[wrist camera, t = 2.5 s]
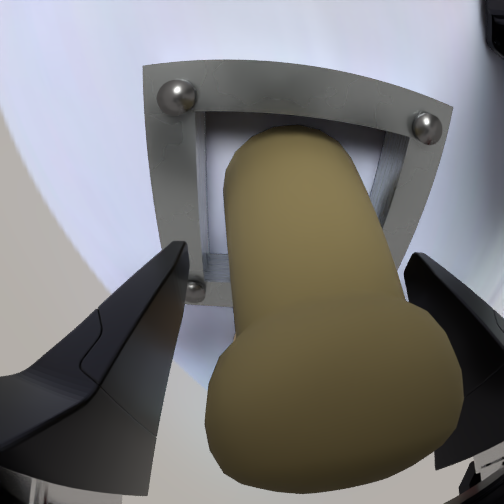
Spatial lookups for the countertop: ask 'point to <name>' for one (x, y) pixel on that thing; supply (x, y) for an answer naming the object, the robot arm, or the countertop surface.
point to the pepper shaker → (320, 330)
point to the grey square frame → (290, 103)
